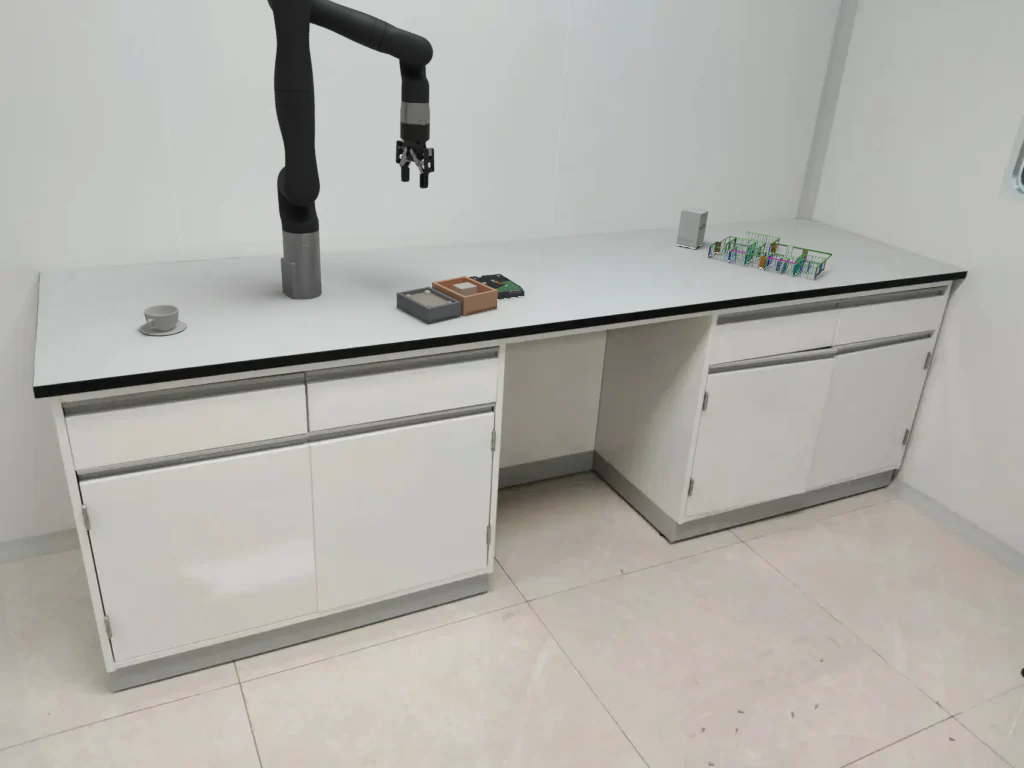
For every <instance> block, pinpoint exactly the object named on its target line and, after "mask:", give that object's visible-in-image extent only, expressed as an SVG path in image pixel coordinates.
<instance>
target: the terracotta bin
mask: <svg viewBox="0 0 1024 768" xmlns="http://www.w3.org/2000/svg"><path fill="white" fill-rule="evenodd" d="M469 277H470V276H466V275H463V276H458V277H457V276H456V277H452V278H448V279H441V280H436V281H432V282H431V288H433V289H435V290H437V291H439V292H441V293H443V294H445V295H447V296H450V297H452V298H454V299H456V300H458V301H460V302H461V316H462V317H466V315H467V316H470V315H474V313H475V314H479V312H480V313H484V312H488V311H487V310H489V311H493V310H497V309H498V300H497V299H498V290H496V289H494V288H491V287H489V286H487V285H485V284H482V283H480V282H478V281H476V280H473V279H471V278H469ZM466 282H469V283H471V284H473V285H475V286H477V294H473V295H468V296H464V295H461V294H459V293H457V292H455V291H453V290H452V286H453V285H455V284H460V283H466ZM496 308H497V309H496ZM492 309H493V310H492ZM483 311H484V312H483Z"/></svg>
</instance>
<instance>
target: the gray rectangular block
mask: <svg viewBox="0 0 1024 768" xmlns="http://www.w3.org/2000/svg"><path fill="white" fill-rule="evenodd" d="M452 290H453V291H455V292H457V293H459V294H461V295H464V296H468V295H473V294H477V286H475V285H473V284H471V283H469V282H466V283H460V284H455V285H453V286H452Z"/></svg>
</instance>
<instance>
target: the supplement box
mask: <svg viewBox="0 0 1024 768" xmlns="http://www.w3.org/2000/svg"><path fill="white" fill-rule="evenodd" d="M708 215H709V210H707V209H702V208H696V207H690V206H689V207H687V208H685V209H682V210H681V212H680V219H679V224H678V225H679V226H678V230H677V231H678V233H677V237H676V244H679V245H684V246H688V247H693V248H697V247H699V246H700V245H702V244H704V240H705V239H704V238H705V233H706V228H707V222H708ZM699 248H700V247H699ZM697 249H698V248H697Z"/></svg>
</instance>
